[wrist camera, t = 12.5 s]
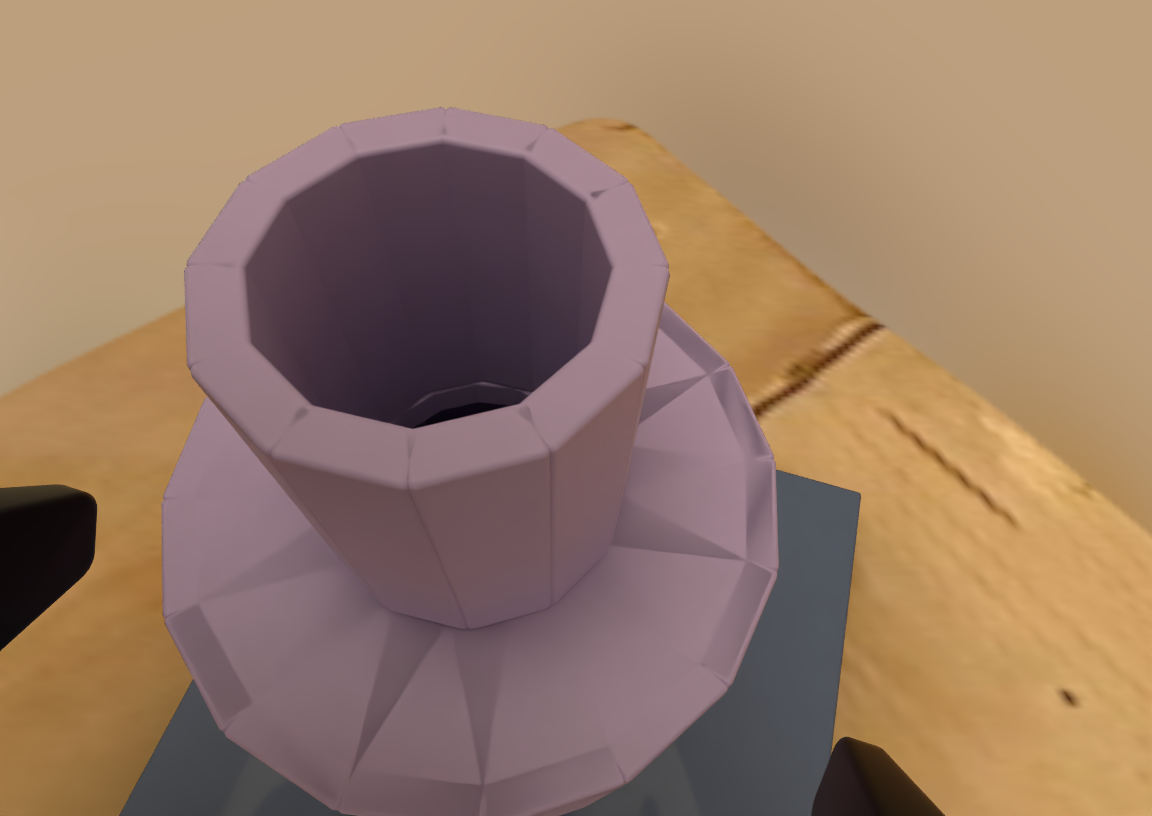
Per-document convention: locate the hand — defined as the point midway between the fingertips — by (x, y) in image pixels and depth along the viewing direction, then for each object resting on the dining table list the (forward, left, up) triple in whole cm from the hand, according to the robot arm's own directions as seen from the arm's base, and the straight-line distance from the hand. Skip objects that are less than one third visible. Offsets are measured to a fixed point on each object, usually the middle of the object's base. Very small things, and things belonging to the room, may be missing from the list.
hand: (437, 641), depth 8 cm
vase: (+2, 0, -9) cm, 9 cm away
